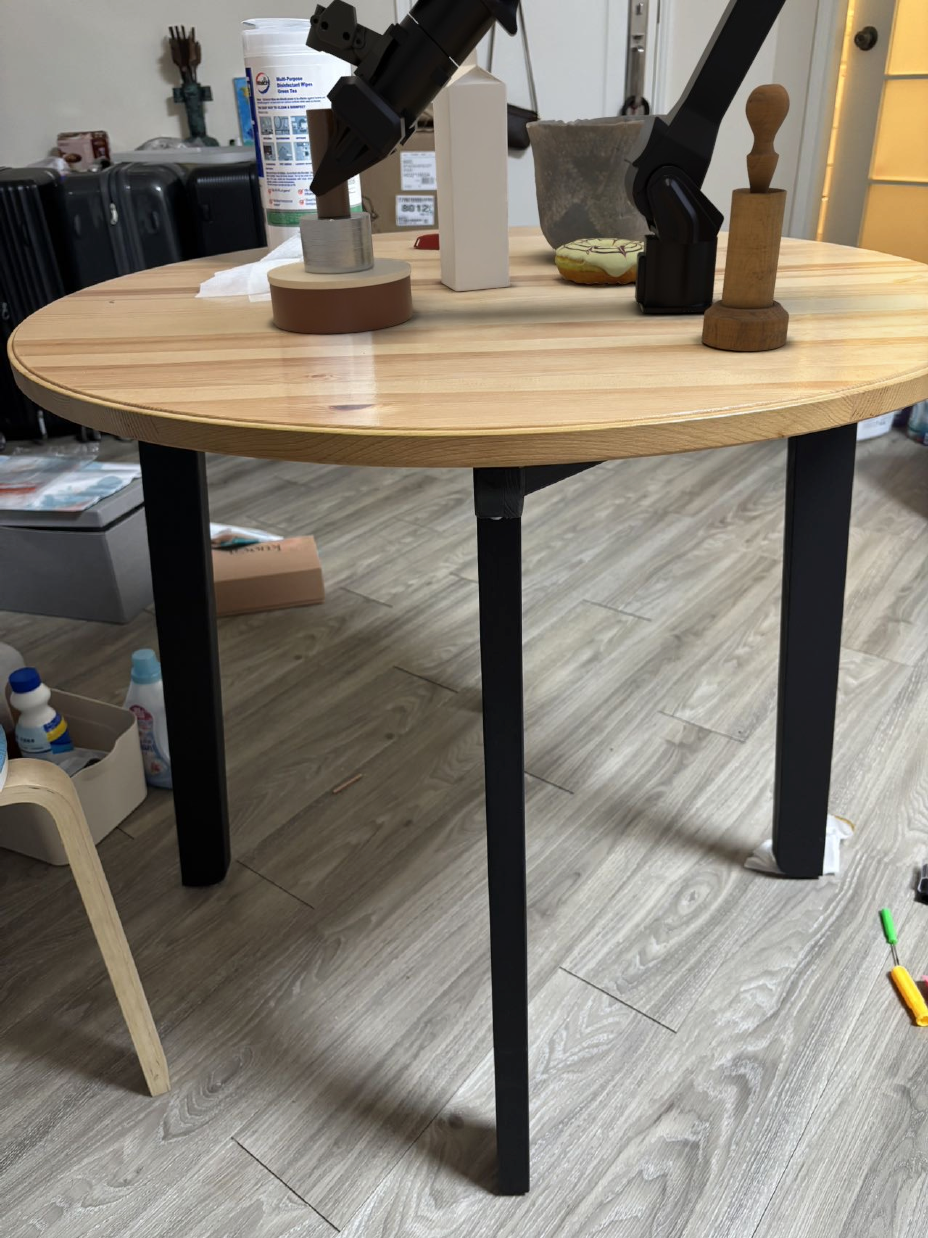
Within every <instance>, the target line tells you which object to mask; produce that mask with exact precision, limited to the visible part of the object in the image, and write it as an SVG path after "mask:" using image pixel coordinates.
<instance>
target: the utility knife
mask: <svg viewBox="0 0 928 1238" xmlns="http://www.w3.org/2000/svg"><path fill="white" fill-rule="evenodd" d="M413 248H414V249H418V250H440V247H439V233H428V234H423V235H419V236H418V237H417V238H416V240H415V242H414V244H413Z"/></svg>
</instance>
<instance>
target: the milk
mask: <svg viewBox="0 0 928 1238" xmlns="http://www.w3.org/2000/svg"><path fill="white" fill-rule="evenodd" d="M478 63H479V62H478V48H477V46H476V47H475V48H474V50H473V51H472V52H471V53H470V55H469V56H468V57H467V58H466V60H465V61H464V62H463V63H462V65H461V66H460V67H459V66H458V70H457V71H456V72H455V73H454V75H453V76H452V77H451V78H452V79H451V80H450V81H449V82H448V84H447V85H446V86H445V87H444V88H442V90H441V91H440V92H439V93H438V95H437V96H436V97H435V98H434V100H433V101H432V114H433V115H432V116H433V135H434V154H435V155H434V156H435V157H434V158H435V176H436V177H435V180H436V202H437V204H436V205H437V223H438V225H437V226H438V234H439V247H440V249H439V264H440V265H439V266H440V282H441V284H443V285H445V286H446V287H448V288H450V289H452V291H454V292H457V293H458V292H466V291H467V292H469V291H479V290H491V289H499V288H509V287H510V232H509V231H510V230H509V229H510V227H509V225H510V224H509V222H510V221H509V156H508V155H509V154H508V151H509V150H508V149H509V148H508V84H507V83H506V82H504V81H503V80H502V79H500V78H498V77H497V76H496V75H494V74H492V73H491V72H490V71H488V70H487V69H485V68H483V67H482V66H480V65H479V64H478Z"/></svg>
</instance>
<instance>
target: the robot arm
mask: <svg viewBox="0 0 928 1238" xmlns="http://www.w3.org/2000/svg"><path fill="white" fill-rule="evenodd" d="M786 2H787V0H729V1H728V3H727V5H726V7H725V9H724V10H723V13H722V14H721V16H720V18H719V20H718V23H717V24H716V26H715V28H714V30H713V32H712V34H711V35H710V38H709V40H708V42H707V44H706V46H705V47H704V49H703V52H702V53H701V56H700V57H699V59H698V62H697V63H696V65H695V67H694V69H693V71H692V73H691V74H690V77H689V79H688V81H687V83H686V85H685V87H684V89H683V90H682V93H681V95H680V96H679V98H678V100H677V101H676V103H675V104H674V105H673V106H672V108H671V109H670V110H669V112H667V113H666V114H665V115H666V116H665V118H664V119H663V120H661V119H660V118H659V117H657V116H652V115H653V114H646V115H647V116H646V118H645V121H644V123H643V126H642V129H641V132H640V135H639V138H638V141H637V143H636V145H635V146H634V148H633V149H632V151H631V152H630V153H629V154H628V155H627V156H626V157H625V158H624V161H625V162H627V163H629V164H630V165H629V166H628V169H627V172H626V175H625V181H624V185H625V191H626V195H627V198H628V200H629V201H630V203H631V204H632V206H633V207H634V208H635V209H636V210H637V211H638V212H639V213H641V214H642V215H643V216H644V217H645V219H646V223H647V226H648V229H649V231H651V232H653V233H654V234H646V235H644V250H643V252H639V253H638V254H637V263H636V282H635V286H634V287H635V288H634V299H635V302H636V303H637V305H640V309H641V312H642V313H643V314H664V313H665V314H674V313H675V314H679V313H705V311H706V310H707V309H708V308H710V307H711V306H712V305H713V304H714V303H715V301H714V291H715V279H716V267H717V255H718V244H719V243H718V242H719V237H718V235H719V233H720V230H721V228H722V226H723V224H724V221H725V216H724V214H723V213H722V212H721V211H720V210H719V208H718V207H716V205H715V204H714V203H713V202H712V201H711V200H710V198H708V197H707V195H706V194H705V193H704V192H703V191H702V187H703V185H704V182H705V179H706V176H707V174H708V171H709V169H710V165H711V162H712V160H713V159H712V158H713V154H714V151H715V147H716V143H717V139H718V135H719V131H720V127H721V125H722V122H723V119H724V117H725V115H726V113H727V111H728V109H729V108H730V106H731V104H732V102H733V101H734V98H735V96H736V95H737V93H738V91H739V89H740V87H741V86H742V83H743V82H744V80H745V78H746V76H747V74H748V73H749V70H750V69H751V67H752V65H753V63H754V62H755V59H756V57H757V56H758V53H759V52H760V50H761V48H762V47H763V44H764V43H765V41H766V39H767V37H768V35H769V33H770V31H771V29H772V28H773V26H774V24H775V22H776V20H777V18H778V16H779V14H780V13H781V11H782V9H783V8H784V5H785V3H786ZM519 5H520V0H417V1H415V3H414V4H413V6H412V7H411V9H410V10H409V11H408V13H407V14H406V15H405V16H404V18H403V19H402V20H401V21H400V23H399V22H396V23H395V24H394V23H393V22H392V23H390V24H389V26H388V27H387V28H386V30H385V31H384V32H383V33H382V34H381V33H379V32H378V31H376V30H373V29H371V28H369V27H367V26H364V25H363V24H361V23H359V22H358V15H357V9H356V7H355V6H354V5H352V4H349V3H348V2H346V1H344V0H332V2H330V4H329V5H328V6H327V7H325V6H323V5H321V4H319V3H317V4H316V6H315V10H314V12H313V14H312V15H311V16H310V18H309V24H310V27H309V30H308V34H307V37H306V41H305V46H306V47H308V48H310V49H312V50H314V51H316V52H319V53H321V52H323V53H325V54H328V55H331V56H333V57H336V58H338V59H339V60H342V61H344V62H346V63H349V64H350V65H352V66H354V67H356V68H355V70H354V71H353V75H342V76H340V77H339V78H338V79H337V81H336V83H334V85H333V86H332V88H331V89H330V91H329V92H328V93H327V94H326V98H327V99H328V100H329V102H330V108H331V109H332V112H333V119H334V127H335V131H334V134H333V137H332V139H331V141H330V143H329V145H328V148H327V150H326V152H325V154H324V156H323V158H322V161H321V163H320V165H319V167H318V169H317V171H316V173H315V176H314V178H313V177H312V180H311V182H310V183H309V188H308V189H309V191H310V192H311V193H312V194H313V195H314V196H315V195H316V196H317V197H320V196H321V195H323V194H325V193H327V192H328V191H330V190H332V189H333V188H335V187H337V186H339V185H340V184H342V183H344V182H346V181H347V180H348V181H349V180H351V179H353V178H354V177H356V176H358V175H359V174H361V173H363V172H365V171H366V170H369V169H370V168H372V167H374V166H375V165H377V164H378V163H381V162H383V161H384V160H386V159H388V158H389V157H390V156H391V155H393V154H395V153H396V152H397V151H398V148H397V147H398V145H401V146H402V147H404V146H405V145H407V143H408V142H409V140H410V139H411V138H412V137H413V135H415V133H416V132H417V131H418V121H419V120H420V119H421V116H422V115H423V114H424V112H425V111H426V110H427V109H428V107H429V106H430V104H431V103H433V100H434V98H435V97H436V96H437V95H438V93H439V92H440V91H441V90H442V88H444V87H445V86H446V85H447V84H448V82H449V81H450V80H451V79H452V78H451V77H452V76H453V75H454V73H455V72H456V71H457V70H458V67H460V66H461V65H462V63H463V62H464V61H465V60H466V58H467V57H468V56H469V55H470V53H471V52H472V51H473V50H474V48H475V47H477V46H478V44H479V43H480V42H482V40H483V39H484V37H485V36H486V35H487V34H488V32H489V31H490V30H491V29H492V27H493V26H494V25H495V24H496V23H497V24H498V25H499V26H500V27H501V28H502V29H503V31H504V32H505V33H506V34H507V35H508V36H509V37H511V38H514V37H515V36H516V35H517V33H518V20H517V19H518V18H517V15H518V8H519Z"/></svg>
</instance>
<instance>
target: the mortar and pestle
mask: <svg viewBox="0 0 928 1238" xmlns="http://www.w3.org/2000/svg"><path fill="white" fill-rule="evenodd" d="M790 103H791V101H790V96H789V93H788V91H787V89H786V88H785V87H784V86H783V85H782V84H780V83H769V84H761V85H759V86H757V87H755V88H754V89H753V90H752V91H751V92H750V94H749V95H748V97H747V100H746V103H745V108H744V109H745V111H744V112H745V116H746V117H745V118H746V120H747V122H748V124H749V125H748V126H749V128H750V130H751V133H752V135H753V143H752V147H751V149H750V152H749V153H748V154H746V160H745V161H746V171H747V177H748V184H749V187H739V188H735V189H733V190H732V192H731V203H730V213H729V223H728V224H729V225H728V236H727V246H726V257H725V265H724V274H723V284H722V293H721V299H718V300H716V301H714V304H713V305H712V306H711V307H710V308H708V309H707V310H706V311H705V312H703V313H704V314H703V320H702V321H703V323H702V332H701V341H702V343H704V344H705V345H707V346H709V347H713V348H716V349H720V350H730V351H739V352H759V351H769V350H774V349H778V348H781V347H783V346H784V345H785V344H786V343H787V338H788V330H789V323H790V322H789V321H790V313H789V312H788V311H787V310H786V309H785V308H784V307H783V305H782V304H781V303H780V302H779V301H777V300H774V298H775V290H776V281H777V274H778V266H779V257H780V249H781V242H782V234H783V226H784V217H785V211H786V210H785V209H786V202H787V194H788V190H786V189H783V188H777V187H770V186H771V183H772V180H773V177H774V174H775V172H776V169H777V165H778V162H779V158H780V154H779V153H777V152H776V150H775V146H774V142H775V139H776V136H777V134H778V132H779V130H780V128H781V127H782V125H783V123H784V121H785V120H786V118H787V117H788V114H789V111H790V105H791V104H790Z"/></svg>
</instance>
